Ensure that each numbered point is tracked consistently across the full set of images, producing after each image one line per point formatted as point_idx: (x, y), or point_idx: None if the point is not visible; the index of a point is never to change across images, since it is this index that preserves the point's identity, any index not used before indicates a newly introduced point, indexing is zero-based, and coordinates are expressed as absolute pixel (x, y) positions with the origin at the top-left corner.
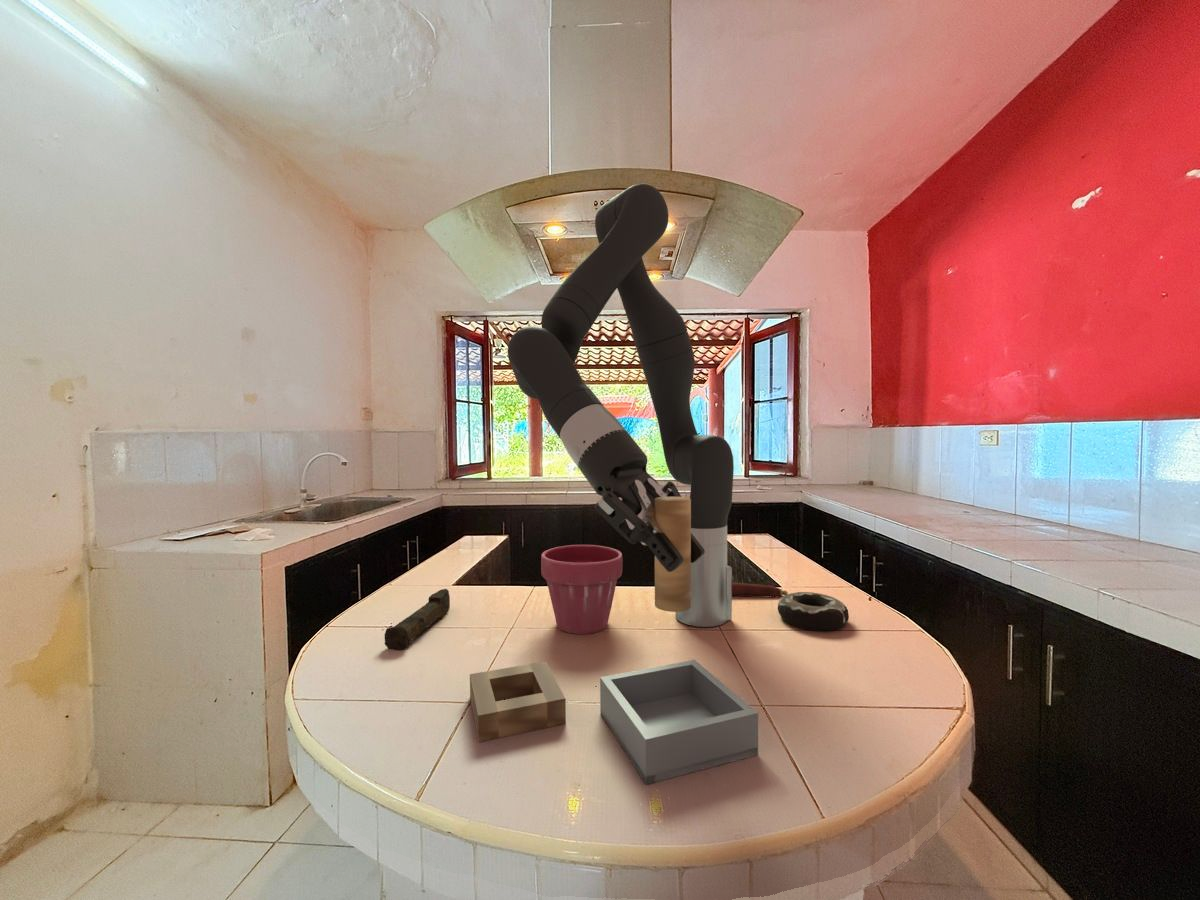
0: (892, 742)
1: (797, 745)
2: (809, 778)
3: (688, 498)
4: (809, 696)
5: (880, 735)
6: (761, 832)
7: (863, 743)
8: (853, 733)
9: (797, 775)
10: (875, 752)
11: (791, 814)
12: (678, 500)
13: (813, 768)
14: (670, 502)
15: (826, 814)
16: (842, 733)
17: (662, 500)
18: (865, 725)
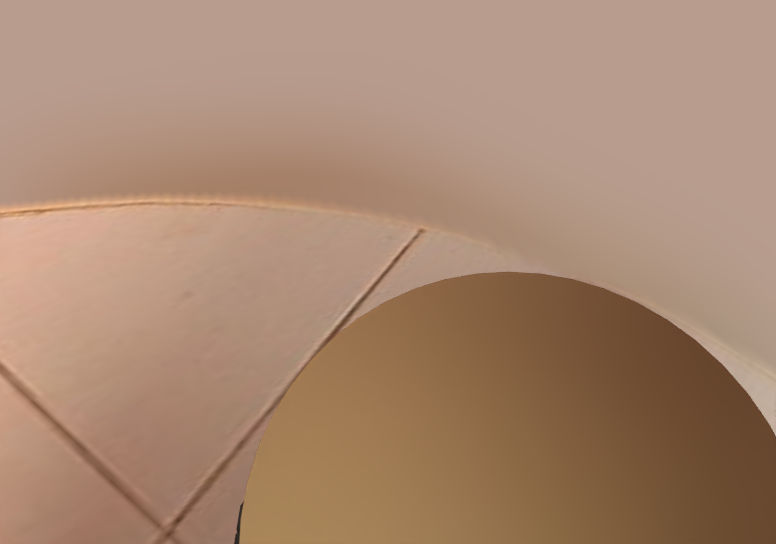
0: (107, 261)
1: (265, 370)
2: (347, 296)
3: (293, 413)
4: (33, 476)
5: (97, 286)
6: (542, 267)
7: (153, 292)
8: (130, 322)
9: (358, 314)
10: (167, 265)
11: (462, 263)
12: (548, 358)
13: (312, 308)
14: (703, 360)
15: (410, 230)
16: (147, 336)
17: (755, 506)
18: (79, 322)
